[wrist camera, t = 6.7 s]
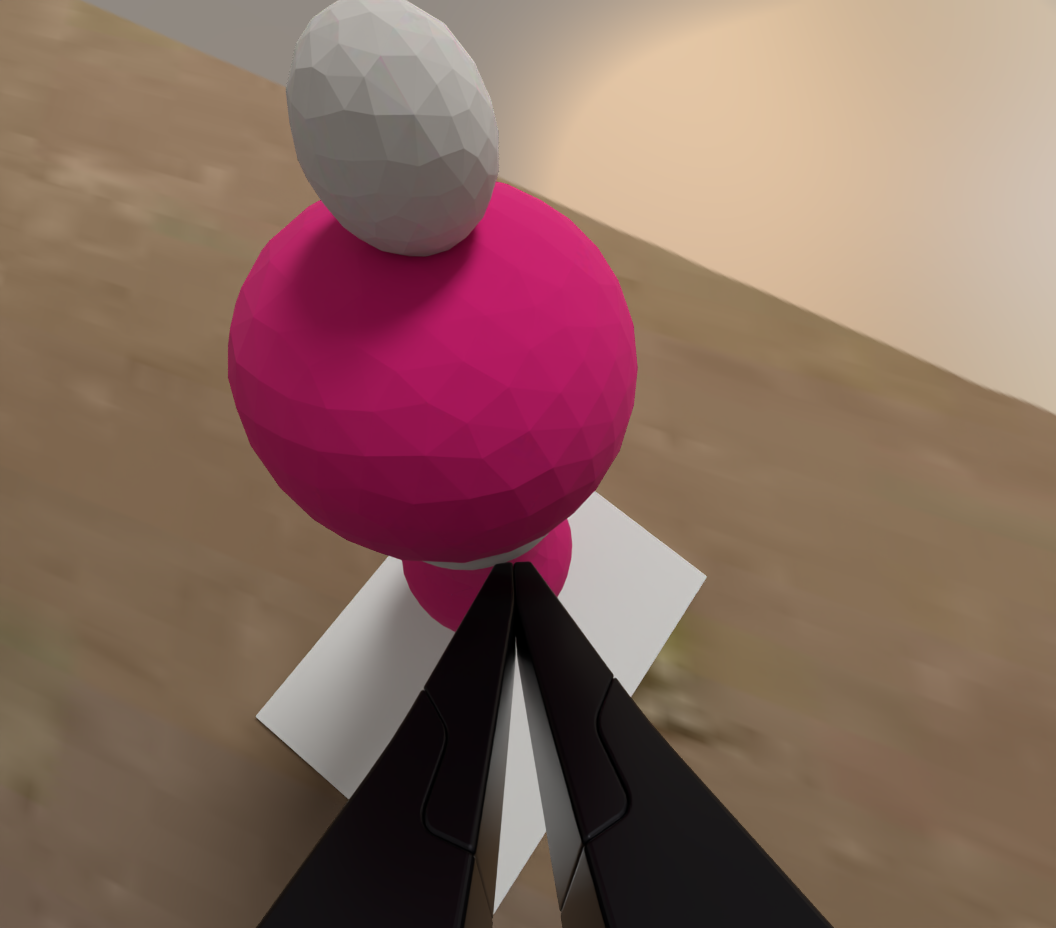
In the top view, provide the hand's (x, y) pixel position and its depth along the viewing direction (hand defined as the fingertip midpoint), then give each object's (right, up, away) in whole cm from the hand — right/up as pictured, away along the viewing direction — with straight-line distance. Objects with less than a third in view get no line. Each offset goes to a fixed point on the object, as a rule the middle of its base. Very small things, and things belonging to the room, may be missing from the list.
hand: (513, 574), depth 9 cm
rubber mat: (-1, -7, +12) cm, 14 cm away
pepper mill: (-2, -3, +12) cm, 12 cm away
